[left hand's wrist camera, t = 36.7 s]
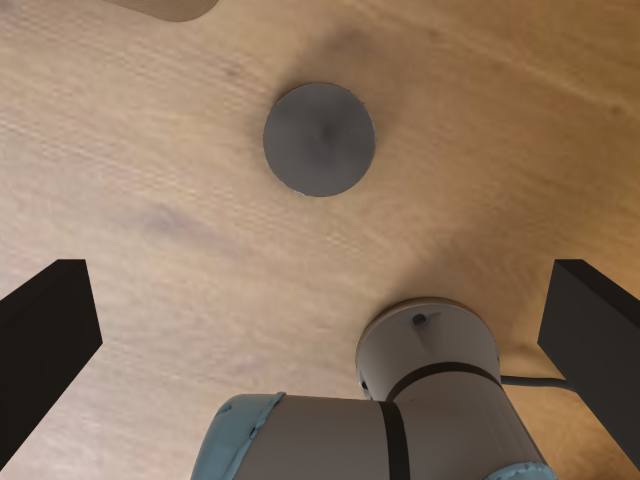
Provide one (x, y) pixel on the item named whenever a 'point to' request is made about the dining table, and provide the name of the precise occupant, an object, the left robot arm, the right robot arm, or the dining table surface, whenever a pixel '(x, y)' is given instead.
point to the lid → (319, 139)
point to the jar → (169, 8)
